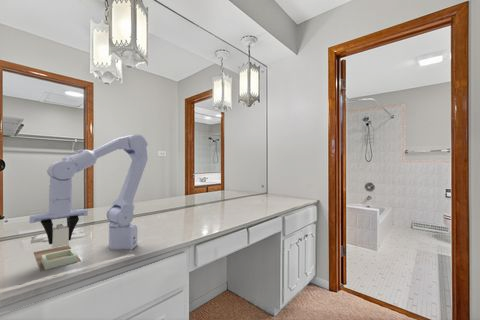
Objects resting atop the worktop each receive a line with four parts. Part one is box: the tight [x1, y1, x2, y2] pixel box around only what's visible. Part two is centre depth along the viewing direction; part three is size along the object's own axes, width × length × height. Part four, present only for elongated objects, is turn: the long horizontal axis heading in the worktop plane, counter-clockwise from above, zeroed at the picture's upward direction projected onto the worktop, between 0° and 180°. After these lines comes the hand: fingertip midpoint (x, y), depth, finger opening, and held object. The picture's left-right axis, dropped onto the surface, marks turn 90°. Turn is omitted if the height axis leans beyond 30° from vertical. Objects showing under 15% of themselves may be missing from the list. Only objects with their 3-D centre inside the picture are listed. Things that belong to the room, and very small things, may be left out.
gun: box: [30, 230, 88, 244], centre depth 96 cm, size 18×3×10 cm
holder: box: [41, 248, 79, 271], centre depth 73 cm, size 8×8×2 cm
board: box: [33, 244, 82, 273], centre depth 77 cm, size 20×10×1 cm, turn 47°
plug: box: [50, 223, 70, 249], centre depth 74 cm, size 4×4×6 cm
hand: (59, 241), depth 73 cm, fingers closed on plug, 4 cm apart
